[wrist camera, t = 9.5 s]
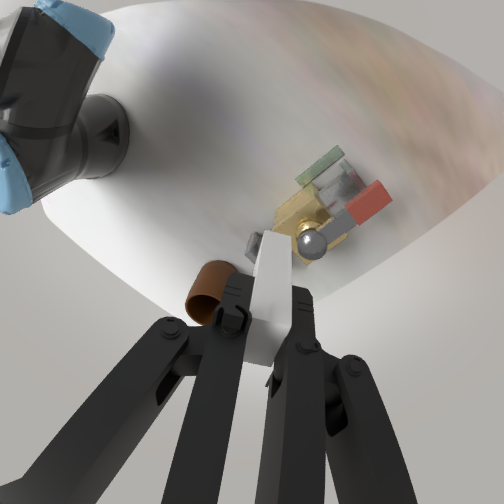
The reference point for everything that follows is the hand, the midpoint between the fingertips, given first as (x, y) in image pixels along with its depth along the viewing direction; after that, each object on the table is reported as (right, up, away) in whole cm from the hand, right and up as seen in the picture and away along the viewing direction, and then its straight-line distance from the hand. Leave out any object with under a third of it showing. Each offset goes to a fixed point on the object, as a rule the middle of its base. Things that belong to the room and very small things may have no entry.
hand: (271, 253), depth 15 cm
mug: (-7, -6, +35) cm, 36 cm away
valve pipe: (+7, +6, +25) cm, 27 cm away
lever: (+9, +4, +16) cm, 19 cm away
